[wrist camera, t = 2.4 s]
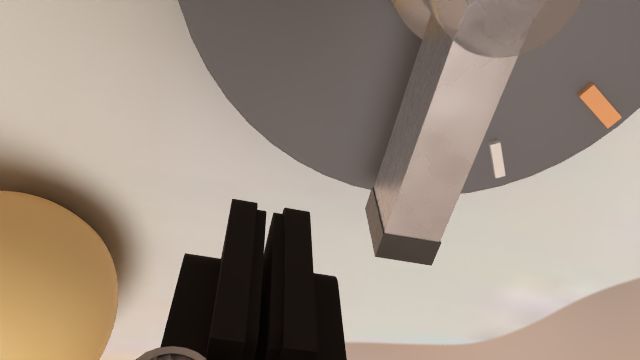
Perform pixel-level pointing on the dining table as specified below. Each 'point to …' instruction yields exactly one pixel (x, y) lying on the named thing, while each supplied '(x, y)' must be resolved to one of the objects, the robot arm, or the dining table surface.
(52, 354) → the sculpture
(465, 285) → the dining table surface
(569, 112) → the dial plate
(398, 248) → the dial
